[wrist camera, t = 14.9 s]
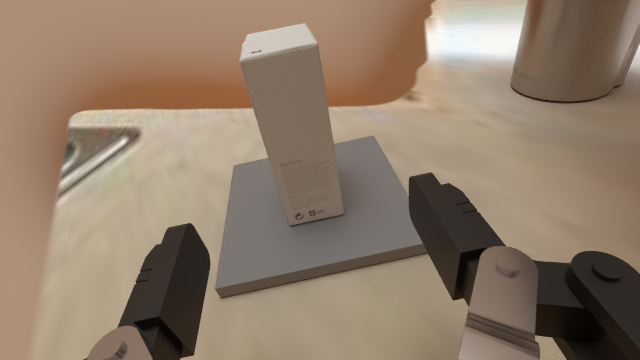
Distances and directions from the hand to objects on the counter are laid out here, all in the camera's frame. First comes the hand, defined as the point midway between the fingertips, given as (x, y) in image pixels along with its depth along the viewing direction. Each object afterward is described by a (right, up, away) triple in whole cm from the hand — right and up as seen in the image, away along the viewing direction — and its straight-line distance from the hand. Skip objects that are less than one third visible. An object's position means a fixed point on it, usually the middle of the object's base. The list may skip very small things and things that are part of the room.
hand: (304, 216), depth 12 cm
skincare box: (0, 0, +14) cm, 14 cm away
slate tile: (0, -1, +14) cm, 14 cm away
